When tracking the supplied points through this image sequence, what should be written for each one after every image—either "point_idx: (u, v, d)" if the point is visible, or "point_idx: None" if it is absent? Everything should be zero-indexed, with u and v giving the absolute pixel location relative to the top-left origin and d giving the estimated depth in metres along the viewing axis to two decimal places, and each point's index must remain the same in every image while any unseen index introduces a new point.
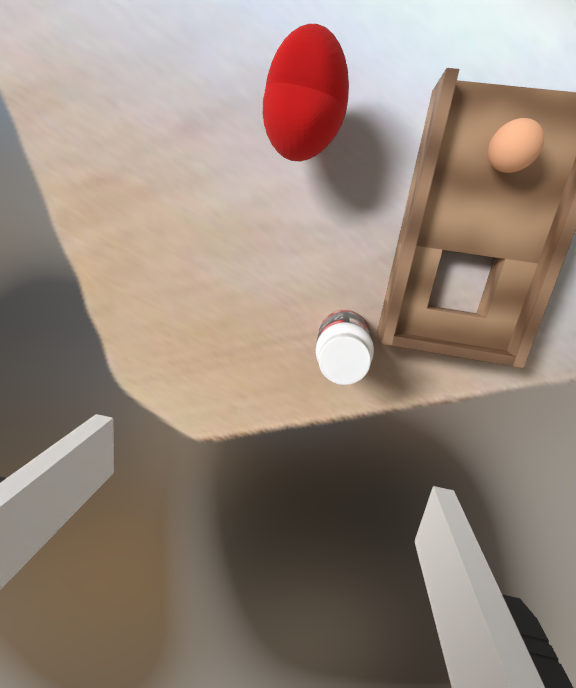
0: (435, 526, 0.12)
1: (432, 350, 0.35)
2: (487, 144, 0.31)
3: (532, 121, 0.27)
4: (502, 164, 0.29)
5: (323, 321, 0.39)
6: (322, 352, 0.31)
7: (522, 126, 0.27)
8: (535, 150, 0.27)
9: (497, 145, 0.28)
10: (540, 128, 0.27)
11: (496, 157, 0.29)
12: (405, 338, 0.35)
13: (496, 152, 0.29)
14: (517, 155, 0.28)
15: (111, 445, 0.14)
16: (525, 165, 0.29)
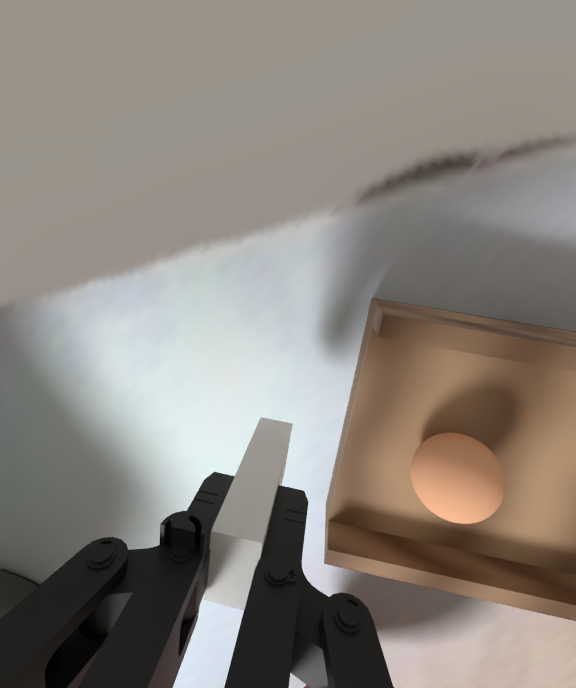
0: None
1: None
2: None
3: (431, 483, 0.15)
4: None
5: None
6: None
7: (443, 506, 0.15)
8: (489, 484, 0.14)
9: None
10: (447, 473, 0.15)
11: None
12: None
13: None
14: (492, 511, 0.15)
15: None
16: (503, 478, 0.15)
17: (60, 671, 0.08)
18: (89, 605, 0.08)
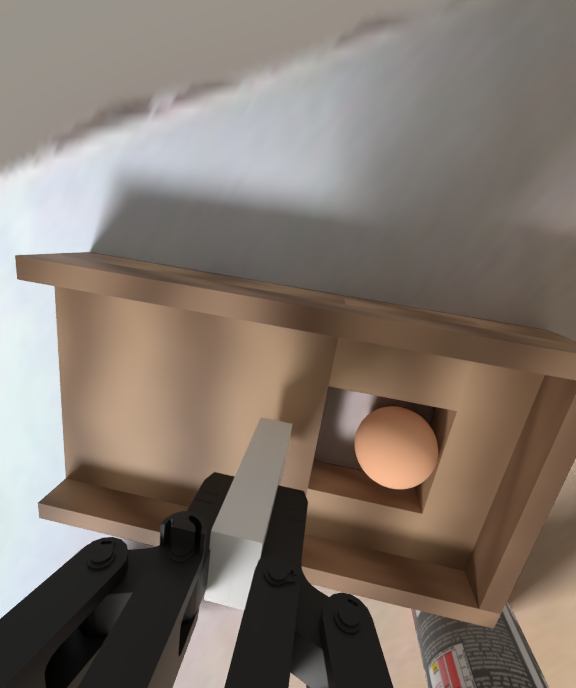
0: None
1: (527, 548, 0.15)
2: (140, 429, 0.19)
3: (388, 462, 0.16)
4: None
5: None
6: None
7: (400, 480, 0.16)
8: (433, 448, 0.16)
9: None
10: (402, 449, 0.15)
11: None
12: (487, 589, 0.16)
13: None
14: (433, 469, 0.16)
15: None
16: (435, 437, 0.17)
17: (60, 671, 0.08)
18: (89, 605, 0.08)
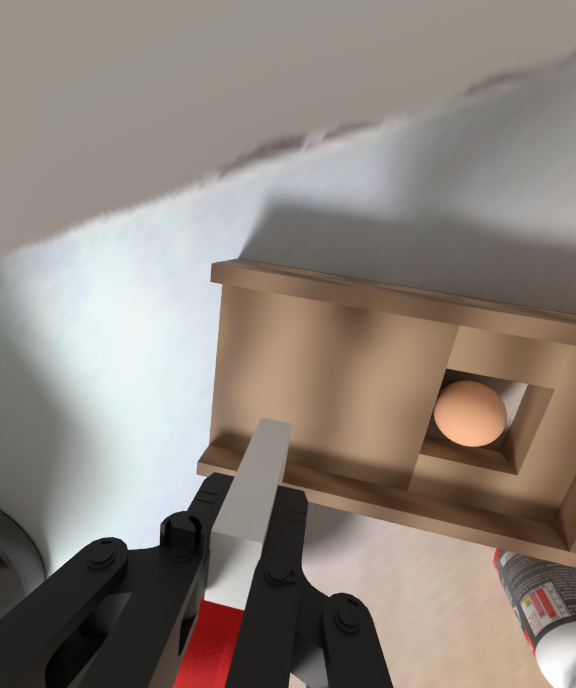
0: None
1: None
2: (279, 404, 0.23)
3: (442, 408, 0.21)
4: (493, 440, 0.20)
5: None
6: None
7: (448, 426, 0.20)
8: (485, 412, 0.19)
9: (465, 445, 0.21)
10: (454, 401, 0.20)
11: (481, 445, 0.21)
12: None
13: (474, 446, 0.21)
14: (488, 435, 0.19)
15: None
16: (502, 414, 0.20)
17: (60, 671, 0.08)
18: (89, 605, 0.08)
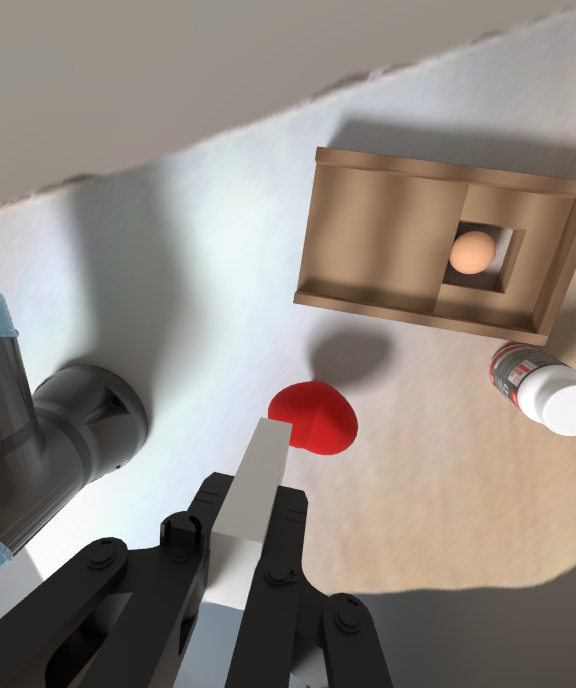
0: None
1: (563, 292, 0.31)
2: (348, 254, 0.34)
3: (454, 247, 0.32)
4: (487, 264, 0.32)
5: None
6: (558, 432, 0.29)
7: (458, 256, 0.32)
8: (481, 242, 0.31)
9: (469, 271, 0.33)
10: (462, 240, 0.32)
11: (479, 270, 0.32)
12: (542, 321, 0.32)
13: (475, 271, 0.32)
14: (483, 257, 0.31)
15: None
16: (492, 245, 0.31)
17: (60, 671, 0.08)
18: (89, 605, 0.08)
